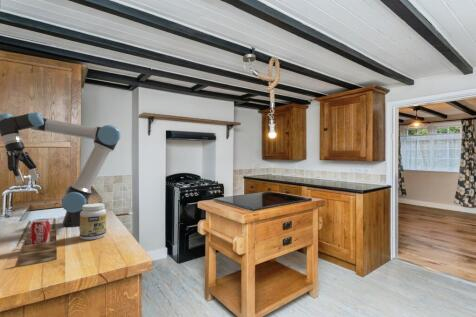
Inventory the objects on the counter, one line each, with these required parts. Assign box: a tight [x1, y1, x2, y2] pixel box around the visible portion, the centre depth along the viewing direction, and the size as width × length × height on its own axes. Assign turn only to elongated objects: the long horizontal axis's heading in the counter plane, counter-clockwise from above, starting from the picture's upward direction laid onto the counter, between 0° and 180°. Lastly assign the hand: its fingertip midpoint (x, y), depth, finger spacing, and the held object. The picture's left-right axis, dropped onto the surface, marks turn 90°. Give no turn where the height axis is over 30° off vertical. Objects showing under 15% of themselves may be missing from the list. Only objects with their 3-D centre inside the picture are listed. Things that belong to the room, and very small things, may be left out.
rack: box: [18, 228, 58, 267], centre depth 118 cm, size 12×34×4 cm, turn 35°
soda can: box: [29, 218, 51, 245], centre depth 118 cm, size 7×7×12 cm
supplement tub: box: [79, 202, 107, 241], centre depth 137 cm, size 12×12×17 cm
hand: (28, 181), depth 138 cm, fingers open, 13 cm apart
